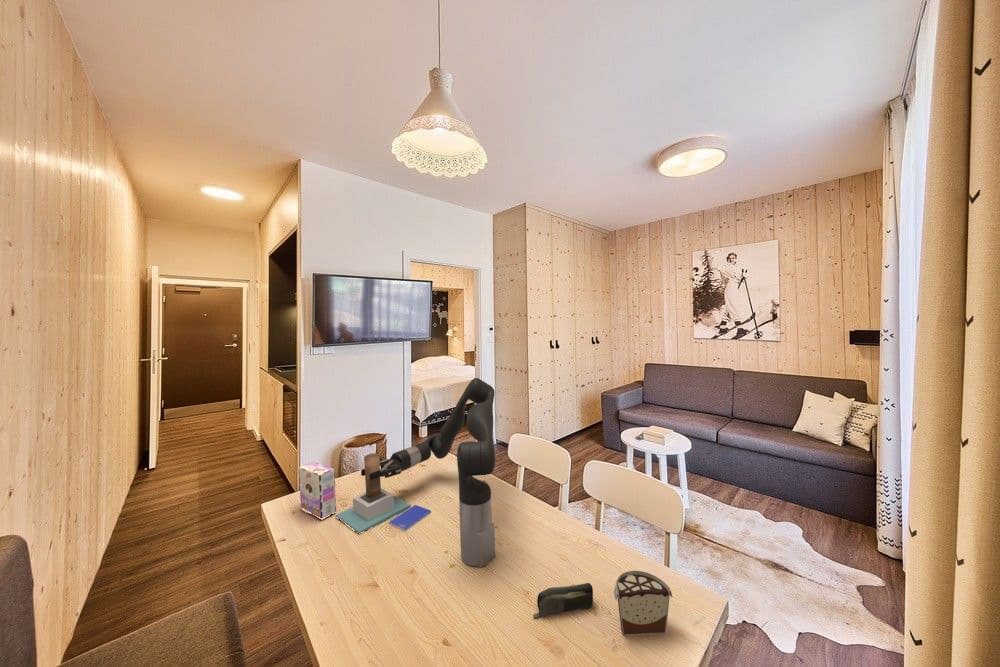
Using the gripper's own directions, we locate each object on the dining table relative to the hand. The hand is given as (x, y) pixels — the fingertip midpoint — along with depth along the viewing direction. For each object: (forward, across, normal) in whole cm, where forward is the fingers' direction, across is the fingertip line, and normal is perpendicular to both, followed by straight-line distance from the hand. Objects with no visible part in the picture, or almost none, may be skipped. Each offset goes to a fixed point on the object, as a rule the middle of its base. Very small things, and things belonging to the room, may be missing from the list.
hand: (365, 475), depth 120 cm
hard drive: (-8, +14, +15) cm, 22 cm away
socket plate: (-2, 0, +15) cm, 15 cm away
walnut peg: (-3, 0, +8) cm, 8 cm away
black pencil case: (-7, +74, +15) cm, 76 cm away
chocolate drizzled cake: (-14, +89, +14) cm, 91 cm away
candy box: (+10, -17, +15) cm, 24 cm away
